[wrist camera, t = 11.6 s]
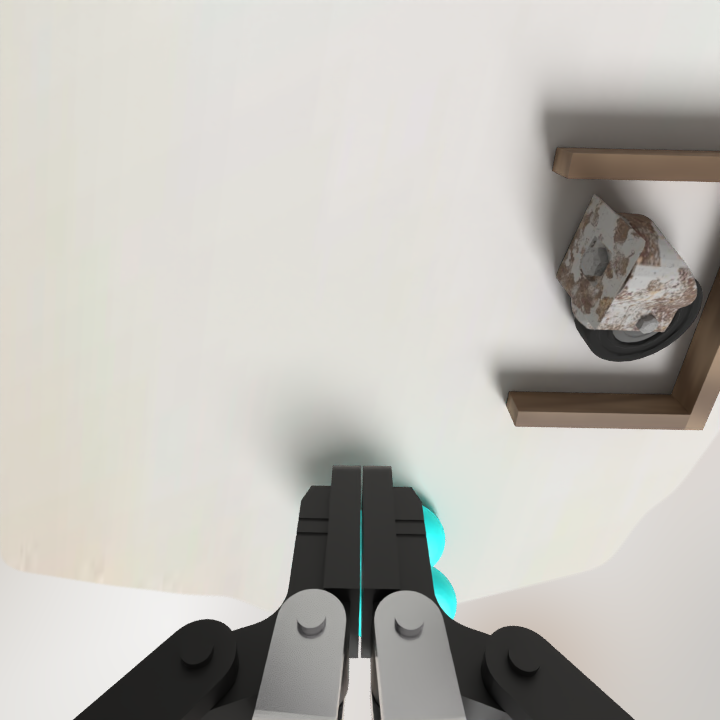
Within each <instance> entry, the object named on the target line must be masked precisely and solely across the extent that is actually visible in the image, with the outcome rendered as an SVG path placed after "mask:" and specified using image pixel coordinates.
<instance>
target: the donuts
mask: <svg viewBox="0 0 720 720" xmlns="http://www.w3.org/2000/svg"><path fill="white" fill-rule="evenodd" d="M422 507H423V514H424V523H425V529H426V538H427V543H428V550H429V557H430V564H431V572H432V579H433V586H434V592H435V596H436V599H437V601H438V603H439V605H440V607H441V608H442V609H443V611H444V612H445V613H446V614H447V615H448V616H449V617H450V618H452V619H453V618H454V616H455V612H456V605H457V601H456V595H455V592H454V589H453V587H452V585H451V583H450V582H449V580H448V579H447V578H446V577H445V576H444V575H443V574H442V573H441V572H440V571H439V570H437V569H436V568H434V567H433V566H434V565H435V564H436V563H437V561H438V560H439V559H440V557H441V555H442V553H443V550H444V546H445V533H444V529H443V526H442V524H441V522H440V521H439V519H438V518H437V517H436V515H435V514H434V513H433V512H431V511H430V510H429V509H428V508H426V507H424V506H423V505H422ZM361 522H362V510H361ZM359 636H360V637H361V525H360V611H359Z"/></svg>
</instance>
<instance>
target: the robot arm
mask: <svg viewBox="0 0 720 720" xmlns="http://www.w3.org/2000/svg"><path fill="white" fill-rule="evenodd" d="M360 525H361V658H371V687H370V703H371V716H372V720H634V719H633V718H632V717H631V716H630V715H629V714H628V713H627V712H625V711H624V710H623V709H622V708H621V707H620V706H619V705H618V704H616V703H615V702H614V701H613V700H612V699H611V698H610V697H609V696H607V695H606V694H605V693H604V692H603V691H602V690H601V689H600V688H599V687H598V686H596V685H595V684H594V683H593V682H592V681H591V680H590V679H589V678H587V677H586V676H585V675H584V674H583V673H582V672H581V671H580V670H579V669H578V668H576V667H575V666H574V665H573V664H572V663H571V662H570V661H569V660H567V659H566V658H565V657H564V656H563V655H562V654H561V653H560V652H558V651H557V650H556V649H555V648H554V647H553V646H552V645H551V644H550V643H549V642H547V641H546V640H545V639H544V638H543V637H541V636H540V635H539V634H537V633H535V632H534V631H532V630H529V629H527V628H524V627H519V626H507V627H503V628H500V629H498V630H497V631H495V632H494V633H493V634H492V635H488V634H486V633H483V632H480V631H477V630H473V629H470V628H468V627H465V626H463V625H461V624H459V623H457V622H456V621H454V620H453V619H452V618H450V617H449V616H448V615H447V614H446V613H445V612H444V611H443V609H442V608H441V607H440V605H439V603H438V601H437V599H436V596H435V592H434V586H433V579H432V572H431V564H430V557H429V550H428V543H427V538H426V529H425V523H424V514H423V507H422V502H421V501H420V499H419V498H418V496H417V495H416V493H415V492H414V490H413V489H412V487H393V484H392V470H391V466H363V485H362V522H361V466H336V465H333V470H332V483H331V486H311V487H310V489H309V490H308V492H307V493H306V495H305V496H304V497H303V499H302V500H301V506H300V513H299V521H298V527H297V536H296V541H295V548H294V555H293V562H292V568H291V575H290V582H289V589H288V593H287V596H286V598H285V600H284V602H283V604H282V605H281V606H280V608H279V609H278V610H277V611H276V612H275V613H274V614H273V615H271V616H270V617H268V618H267V619H265V620H263V621H261V622H259V623H256V624H253V625H250V626H247V627H244V628H240V629H237V630H234V631H231V630H230V628H229V627H228V626H226V625H225V624H224V623H222V622H219V621H216V620H210V619H205V620H199V621H194V622H192V623H189V624H187V625H185V626H184V627H182V628H181V629H179V630H178V631H176V632H175V633H174V634H173V635H172V636H171V637H169V638H168V639H167V640H166V641H165V642H164V643H162V644H161V645H160V646H159V647H158V648H157V649H155V650H154V651H153V652H152V653H151V654H149V655H148V656H147V657H146V658H145V659H144V660H142V661H141V662H140V663H139V664H138V665H137V666H135V667H134V668H133V669H132V670H131V671H130V672H128V673H127V674H126V675H125V676H124V677H123V678H121V679H120V680H119V681H118V682H117V683H116V684H114V685H113V686H112V687H111V688H110V689H108V690H107V691H106V692H105V693H104V694H103V695H102V696H100V697H99V698H98V699H97V700H96V701H94V702H93V703H92V704H91V705H90V706H89V707H87V708H86V709H85V710H84V711H83V712H82V713H80V714H79V715H78V716H77V717H76V718H75V719H73V720H343V716H344V706H345V696H346V694H347V690H348V683H349V658H358V641H359V611H360Z"/></svg>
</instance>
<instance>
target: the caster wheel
mask: <svg viewBox="0 0 720 720" xmlns="http://www.w3.org/2000/svg"><path fill="white" fill-rule="evenodd" d="M556 278H557V279H558V281H559V282H560V283H561V285H562V286H563V288H564V289H565V290H566V292H567V293H568V294H569V296H570V297H571V306H572V311H573V314H574V316H575V325H576V328H577V330H578V332H579V333H580V335H581V336H582V338H583V339H584V341H585V342H586V344H587V345H588V347H589V348H590V349H591V351H592V352H593V353H594V354H595V355H596V356H598V357H600V358H602V359H605V360H608V361H615V362H622V361H632V360H636V359H640V358H643V357H646V356H649V355H651V354H654V353H656V352H658V351H659V350H661V349H663V348H665V347H667V346H668V345H670V344H671V343H672V342H674V341H675V340H676V339H678V338H679V337H680V336H681V335H682V334H683V333H684V332H685V331H686V330H687V329H688V328H689V327H690V325H691V324H692V323H693V321H694V320H695V318H696V316H697V314H698V312H699V310H700V307H701V302H702V296H703V295H702V289H701V286H700V285H699V283H698V282H697V280H696V279H695V278H694V277H693V275H692V273H691V271H690V269H689V268H688V266H687V265H686V263H685V262H684V260H683V259H682V258H681V257H680V255H679V254H678V253H677V252H676V251H675V249H674V248H673V247H672V246H671V245H670V243H669V242H668V241H667V240H666V239H665V237H664V236H663V235H662V233H661V232H660V231H659V229H658V228H657V227H656V225H655V224H654V223H653V222H652V221H651V220H650V219H649V218H648V217H646V216H644V215H639V214H628V213H615V212H614V211H613V210H612V209H611V208H610V207H609V206H608V205H607V204H606V203H605V202H604V201H603V200H602V199H601V198H599V197H598V196H597V195H593V197H592V199H591V201H590V204H589V206H588V208H587V210H586V212H585V214H584V216H583V219H582V221H581V223H580V225H579V227H578V229H577V231H576V233H575V236H574V238H573V240H572V242H571V244H570V246H569V248H568V251H567V253H566V255H565V257H564V259H563V261H562V263H561V265H560V268H559V270H558V272H557V276H556Z"/></svg>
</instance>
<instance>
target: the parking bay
mask: <svg viewBox="0 0 720 720" xmlns="http://www.w3.org/2000/svg"><path fill="white" fill-rule="evenodd" d="M552 171H553V172H555V173H557V174H559V175H561V176H563V177H565V178H567V179H609V180H653V181H697V182H720V151H692V150H648V149H605V148H561V147H557V149H556V154H555V159H554V164H553V169H552ZM719 391H720V268H719V270H718V273H717V276H716V278H715V281H714V283H713V286H712V289H711V291H710V294H709V297H708V299H707V302H706V304H705V307H704V310H703V312H702V315H701V317H700V320H699V323H698V325H697V328H696V331H695V333H694V336H693V338H692V341H691V344H690V346H689V349H688V352H687V354H686V357H685V359H684V362H683V365H682V367H681V370H680V372H679V375H678V378H677V380H676V383H675V386H674V388H673V391H672V393H671V395H664V394H614V393H564V392H514V391H509V394H508V399H507V405H506V406H507V409H508V411H509V413H510V416H511V418H512V420H513V422H514V425H515V426H516V427H567V428H618V429H669V430H703V428H704V426H705V423H706V421H707V419H708V417H709V414H710V412H711V410H712V407H713V405H714V403H715V401H716V398H717V396H718V394H719Z"/></svg>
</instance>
